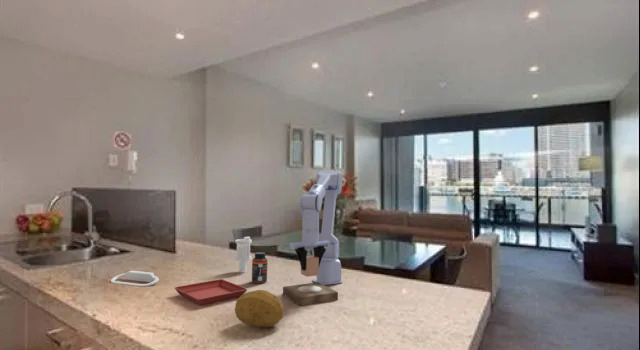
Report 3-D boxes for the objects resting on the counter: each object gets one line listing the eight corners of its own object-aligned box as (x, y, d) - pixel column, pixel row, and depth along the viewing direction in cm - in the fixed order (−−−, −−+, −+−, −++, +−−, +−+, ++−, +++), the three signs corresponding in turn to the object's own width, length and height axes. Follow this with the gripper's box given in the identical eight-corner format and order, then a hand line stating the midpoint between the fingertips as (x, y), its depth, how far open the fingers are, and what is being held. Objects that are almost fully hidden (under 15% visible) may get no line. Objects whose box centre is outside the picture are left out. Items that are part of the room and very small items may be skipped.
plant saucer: (221, 287, 137) (221, 278, 137) (248, 298, 124) (248, 288, 124) (173, 297, 124) (173, 287, 125) (197, 310, 112) (198, 299, 112)
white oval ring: (106, 287, 141) (105, 278, 140) (123, 277, 148) (122, 268, 147) (149, 292, 135) (147, 282, 134) (164, 281, 142) (163, 272, 141)
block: (312, 272, 129) (312, 255, 129) (318, 275, 125) (318, 257, 125) (300, 273, 127) (301, 256, 127) (306, 276, 123) (306, 258, 123)
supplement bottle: (264, 284, 140) (264, 254, 141) (249, 283, 142) (249, 253, 142) (269, 280, 146) (269, 251, 147) (255, 279, 147) (255, 251, 148)
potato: (275, 298, 93) (286, 285, 102) (227, 297, 96) (242, 284, 105) (277, 335, 93) (289, 318, 102) (229, 332, 96) (244, 316, 105)
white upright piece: (254, 271, 161) (255, 237, 162) (243, 274, 155) (243, 239, 156) (242, 269, 165) (243, 235, 166) (231, 272, 159) (231, 237, 160)
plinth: (318, 289, 135) (318, 281, 135) (337, 299, 123) (337, 291, 123) (282, 293, 128) (282, 286, 128) (299, 305, 116) (300, 296, 116)
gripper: (296, 231, 119) (295, 273, 119) (334, 229, 126) (334, 269, 126) (287, 229, 125) (287, 269, 125) (324, 227, 132) (324, 265, 132)
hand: (310, 269), depth 126 cm, fingers closed on block, 4 cm apart
